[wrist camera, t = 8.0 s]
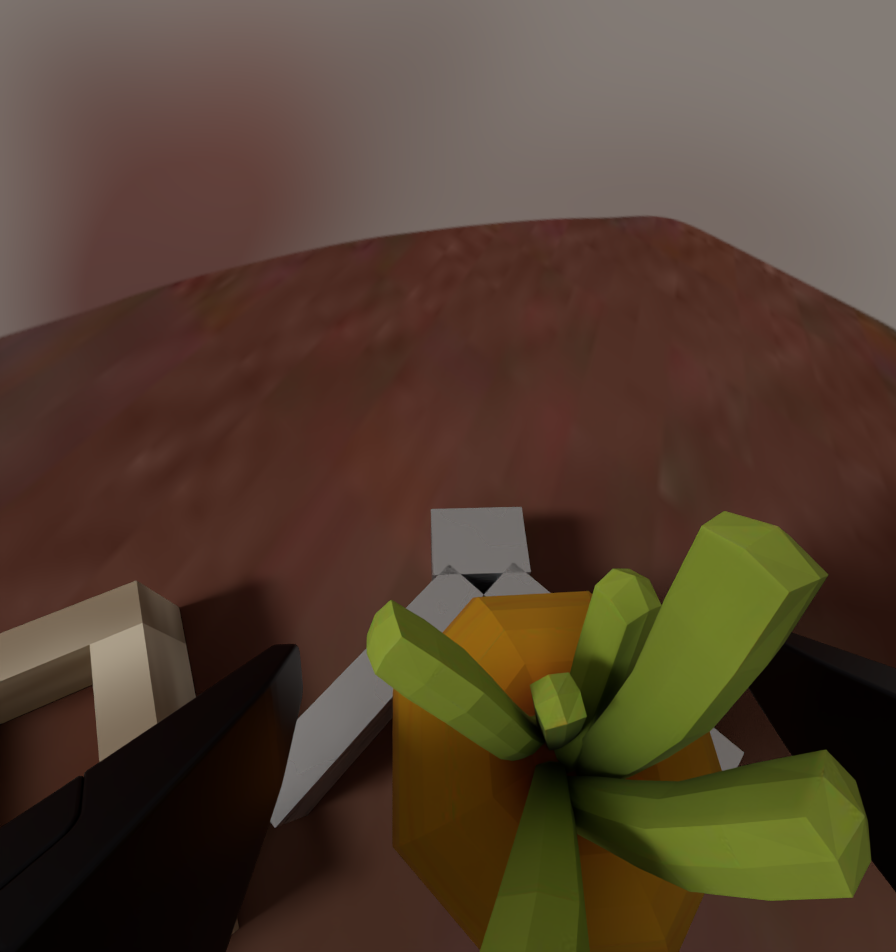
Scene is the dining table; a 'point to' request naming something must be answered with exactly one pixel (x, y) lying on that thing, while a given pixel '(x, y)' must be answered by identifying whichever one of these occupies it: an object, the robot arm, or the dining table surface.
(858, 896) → the dining table surface
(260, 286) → the dining table surface
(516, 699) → the carrot
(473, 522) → the v-block
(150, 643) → the socket block
